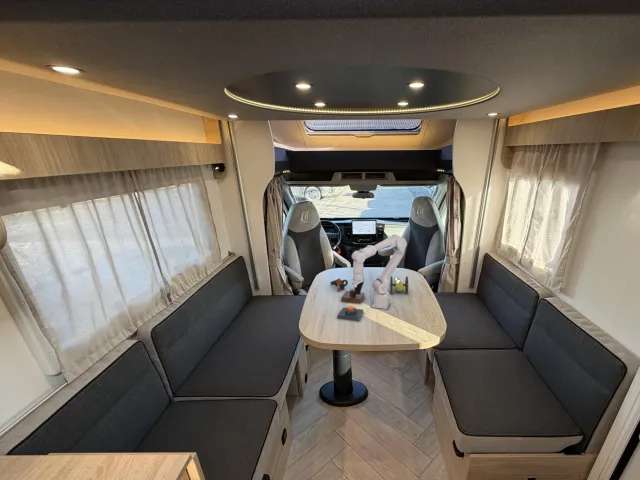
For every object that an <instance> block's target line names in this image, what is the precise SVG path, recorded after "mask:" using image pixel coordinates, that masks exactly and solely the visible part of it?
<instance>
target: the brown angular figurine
mask: <svg viewBox="0 0 640 480" xmlns="http://www.w3.org/2000/svg"><path fill="white" fill-rule="evenodd" d="M348 283H349V281H348V279H341V278H337V279H335V280H332V281H330V282H329V284H330V287H332V286H335V287H337V289H336V290H337V292H339V293H340V292H341V291H344V290H345V288H346V287H347V285H348Z"/></svg>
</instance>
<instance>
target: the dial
mask: <svg viewBox="0 0 640 480" xmlns="http://www.w3.org/2000/svg"><path fill="white" fill-rule="evenodd" d="M349 291H350V296H356V291H355V288H350V289H349Z"/></svg>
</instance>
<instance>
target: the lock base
mask: <svg viewBox="0 0 640 480" xmlns="http://www.w3.org/2000/svg"><path fill="white" fill-rule="evenodd" d="M340 298H341V299H340V301H341V303H349V304H356V305H360V304H361V303H362V301H363V300H364V298H365V292H361V293H360V295H357V294H356V296H350V290H346V291H345V292H344V293H343V294H342V296H341V297H340Z"/></svg>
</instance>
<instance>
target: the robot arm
mask: <svg viewBox="0 0 640 480" xmlns="http://www.w3.org/2000/svg"><path fill="white" fill-rule="evenodd" d="M407 245H408V243H407V240H406V238H404V237H402V236H399V235H398V234H392V235H389V236H388V237H387V238H386V239H384V240H382V241H380V242H378V243H376V244H374V245H372V244H368V245H366V246H365V247H364V248H360V249H359V250H354V251H353V252H352V254H351V259H352V261H353V262H352V278H350V280H351V281H352V287H353V289H355V291H356V294H357V295H360V293H362V288H363V286H364V284H365V279H364V262H365V260H367V259H369V258H371V257H373V256H375V255H376V253H377V252H379V251H380V250H383V249H385V248H387V247H392V248H393V254H392V256H391V258H390V259H389V261H388V262H387V264H386V266H384V267H385V268H384V269H383V271H382V272H381V274H380V275H377V277H376V278H375V279H373V281H372V282H371V286H372V288H373V303H372V305H371V308H375V309H382V310H383V309H384V310H388V308H389V306H390V304H391V303H390V297H391V295H390V294H391V293H390V292H388V289H389V287H390V278H391V276H392V275H393V274H394V273H395V271H396V269H397V267H398V265H400V263H401V261H402V260H403V257H404V256H405V253H406V247H407Z"/></svg>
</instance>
